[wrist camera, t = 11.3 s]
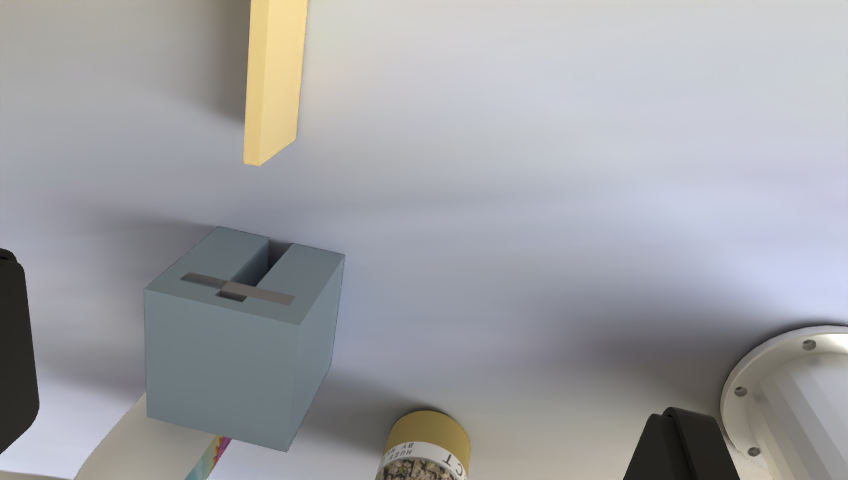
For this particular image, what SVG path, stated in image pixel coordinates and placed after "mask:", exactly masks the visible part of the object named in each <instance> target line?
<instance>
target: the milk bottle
mask: <svg viewBox="0 0 848 480" xmlns="http://www.w3.org/2000/svg"><path fill="white" fill-rule="evenodd" d="M231 440H232V438H228V437H224V436H220V435H216V434H212V433H208V432H204V431H200V430H196V429H192V428H188V427H184V426H180V425H176V424H172V423H168V422H164V421H160V420H156V419H152V418H148V417H147V410H146V392H145V393H144V394H143V395H142V396H141V397H140V398H139V400H138V401H137V402H136V403H135V404H134V405H133V406H132V407H131V408H130V409H129V411H128V412H127V413H126V414H125V415H124V416H123V417H122V418H121V420H120V421H119V422H118V423H117V424H116V425H115V426H114V427H113V429H112V430H111V431H110V432H109V433H108V434H107V435H106V437H105V438H104V439H103V440H102V441H101V442H100V444H99V445H98V446H97V447H96V448H95V450H94V451H93V452H92V453H91V454H90V456H89V457H88V458H87V459H86V461H85V462H84V464H83V465H82V466H81V468H80V469H79V471H78V473H77V475H76V476H75V478H74V480H206V479H207V477H208V476H209V474H210V473H211V471H212V469H213V468H214V466H215V465H216V463H217V462H218V460H219V458H220V457H221V455H222V454H223V452H224V451H225V449H226V447H227V446H228V444H229V443H230V441H231Z"/></svg>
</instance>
